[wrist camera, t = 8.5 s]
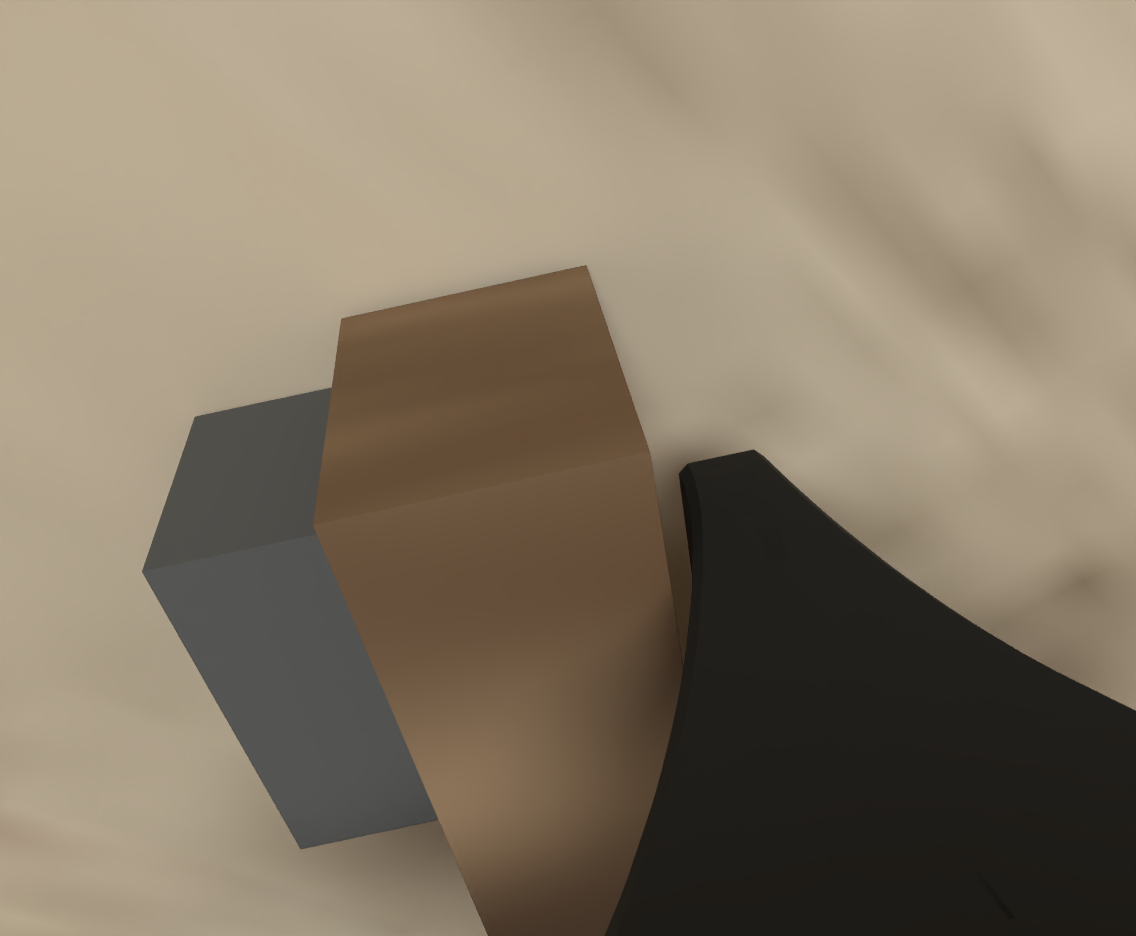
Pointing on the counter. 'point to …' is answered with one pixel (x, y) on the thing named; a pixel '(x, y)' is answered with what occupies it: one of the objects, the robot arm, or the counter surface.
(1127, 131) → the counter surface
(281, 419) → the leg stop
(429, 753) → the folding leg
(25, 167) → the counter surface
